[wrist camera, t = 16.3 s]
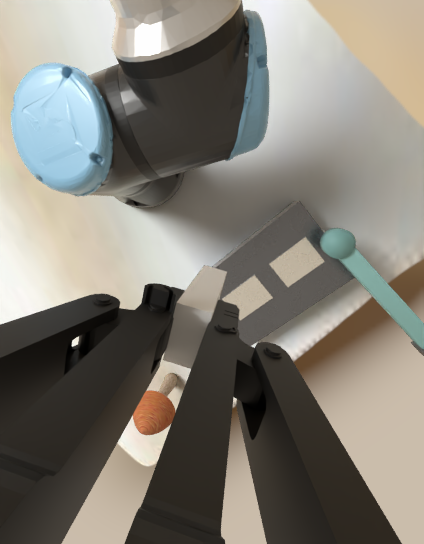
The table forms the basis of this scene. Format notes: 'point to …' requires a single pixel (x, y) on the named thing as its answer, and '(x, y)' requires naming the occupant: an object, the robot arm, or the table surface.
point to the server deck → (279, 273)
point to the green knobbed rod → (373, 282)
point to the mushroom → (156, 408)
